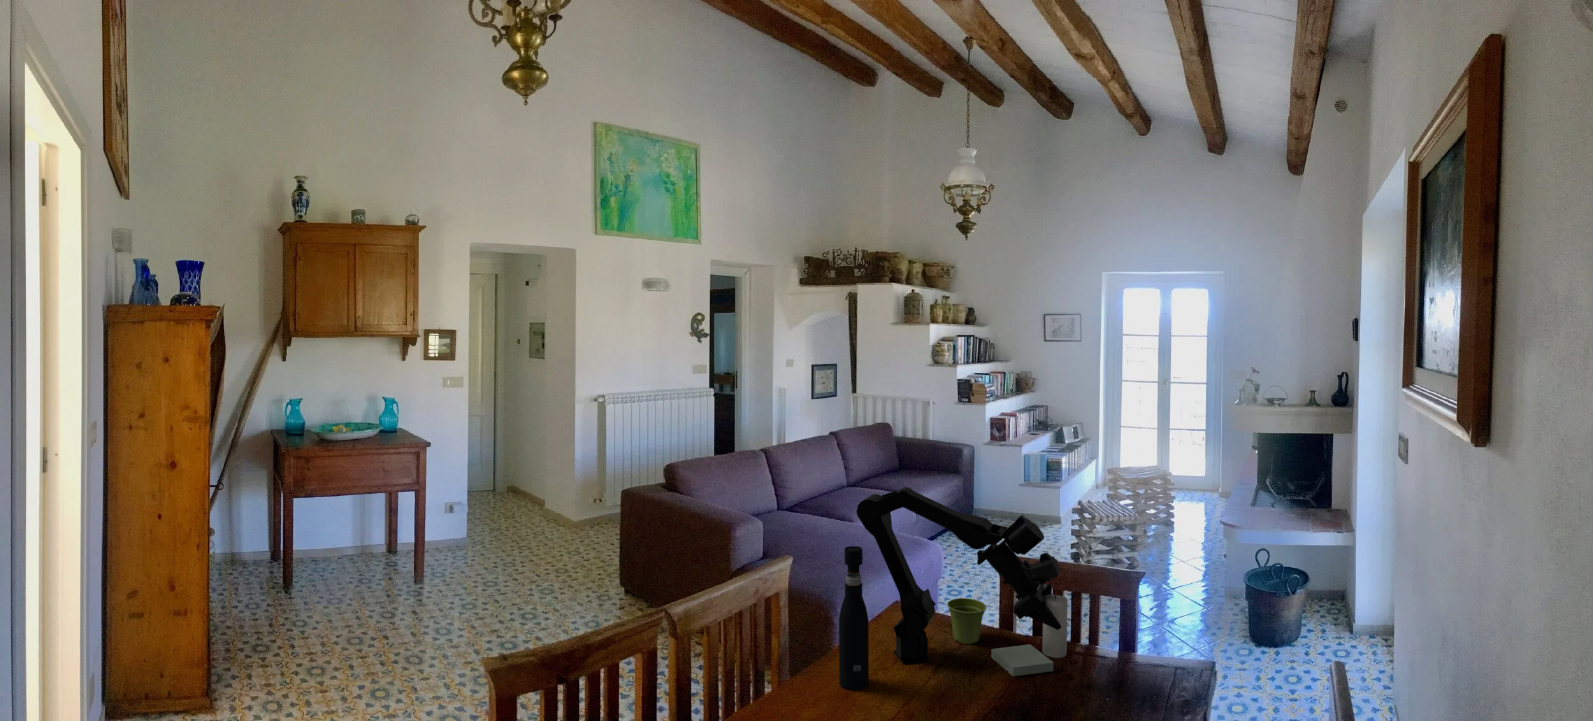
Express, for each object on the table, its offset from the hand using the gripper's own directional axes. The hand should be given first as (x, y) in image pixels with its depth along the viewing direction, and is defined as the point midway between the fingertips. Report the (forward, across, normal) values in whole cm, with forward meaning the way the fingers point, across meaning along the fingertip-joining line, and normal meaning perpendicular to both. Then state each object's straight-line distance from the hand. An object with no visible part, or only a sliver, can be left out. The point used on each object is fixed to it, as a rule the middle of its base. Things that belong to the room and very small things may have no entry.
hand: (1061, 623), depth 177 cm
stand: (+3, +6, +16) cm, 18 cm away
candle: (+4, 0, +6) cm, 7 cm away
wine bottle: (-19, -18, +39) cm, 47 cm away
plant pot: (-7, +15, +27) cm, 32 cm away
